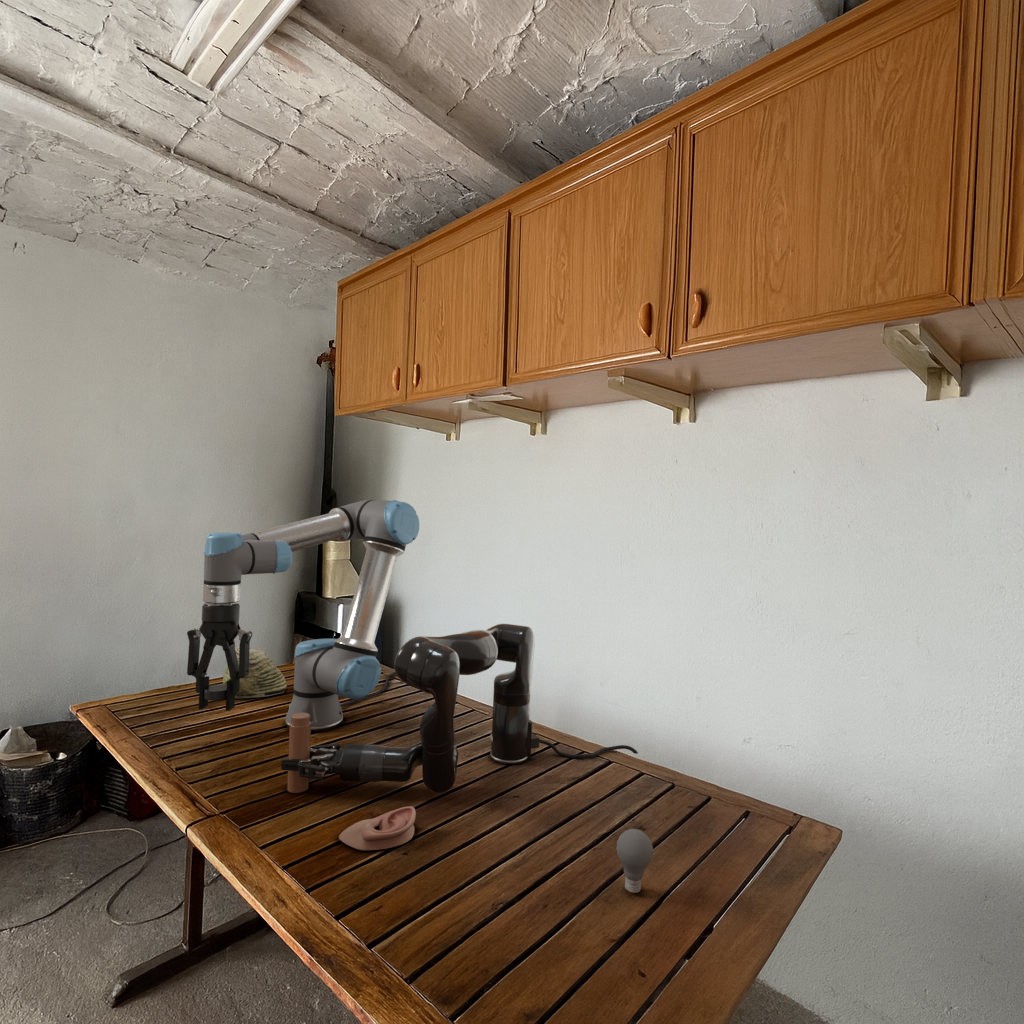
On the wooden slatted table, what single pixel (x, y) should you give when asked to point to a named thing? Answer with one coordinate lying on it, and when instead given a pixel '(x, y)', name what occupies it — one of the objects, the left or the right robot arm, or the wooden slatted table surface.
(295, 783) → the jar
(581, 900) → the wooden slatted table surface
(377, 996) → the wooden slatted table surface
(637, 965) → the wooden slatted table surface
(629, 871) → the light bulb
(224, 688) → the lid
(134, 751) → the wooden slatted table surface
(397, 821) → the anatomical model
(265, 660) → the fossil
